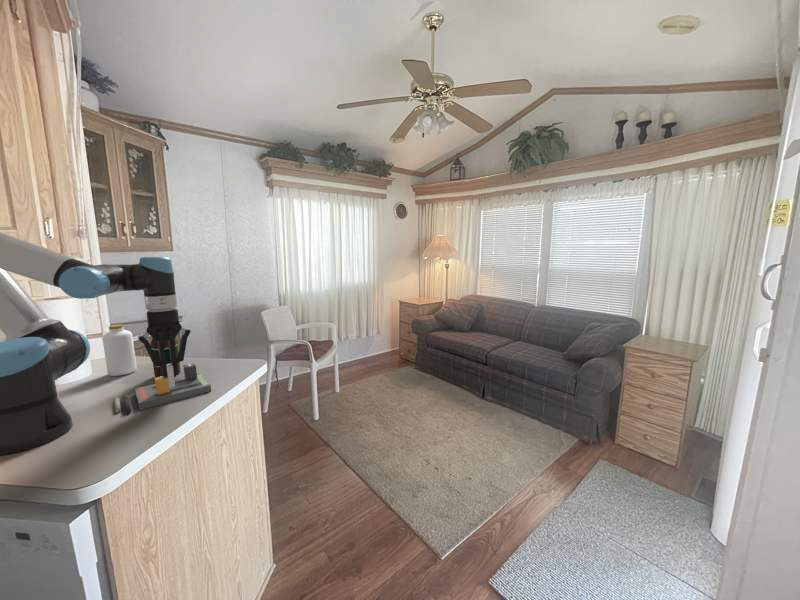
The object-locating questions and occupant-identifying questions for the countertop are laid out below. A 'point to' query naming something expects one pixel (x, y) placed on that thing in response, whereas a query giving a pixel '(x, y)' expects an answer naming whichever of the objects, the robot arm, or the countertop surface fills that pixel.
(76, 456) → the countertop surface
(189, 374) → the block
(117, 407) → the cord grey near
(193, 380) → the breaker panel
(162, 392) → the block
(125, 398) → the cord black near
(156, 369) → the beer bottle
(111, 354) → the white plastic bottle
